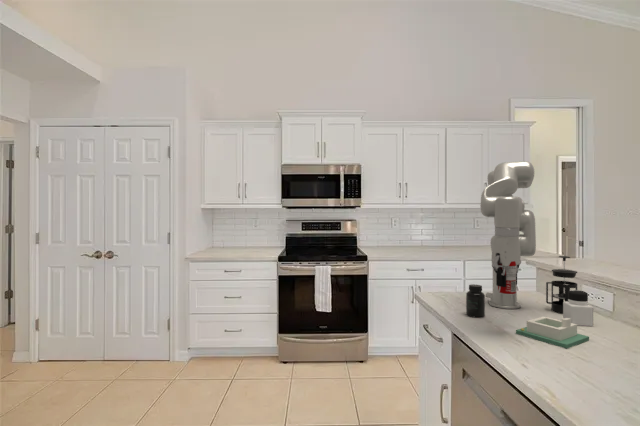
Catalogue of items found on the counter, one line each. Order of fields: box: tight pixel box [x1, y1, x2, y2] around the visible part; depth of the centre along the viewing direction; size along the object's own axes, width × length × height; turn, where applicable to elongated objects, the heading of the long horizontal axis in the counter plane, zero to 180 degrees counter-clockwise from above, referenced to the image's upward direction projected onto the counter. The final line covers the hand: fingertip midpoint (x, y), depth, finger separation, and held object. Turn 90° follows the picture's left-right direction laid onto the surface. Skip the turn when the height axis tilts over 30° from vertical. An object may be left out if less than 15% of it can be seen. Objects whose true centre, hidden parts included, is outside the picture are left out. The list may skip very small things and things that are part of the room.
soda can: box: [498, 260, 516, 295], centre depth 126 cm, size 6×6×12 cm
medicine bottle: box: [562, 289, 594, 327], centre depth 137 cm, size 7×7×12 cm
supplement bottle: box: [465, 283, 486, 319], centre depth 147 cm, size 7×7×12 cm
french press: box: [545, 255, 578, 315], centre depth 152 cm, size 12×9×23 cm
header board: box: [515, 316, 590, 349], centre depth 122 cm, size 16×14×7 cm
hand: (506, 284), depth 126 cm, fingers closed on soda can, 5 cm apart
